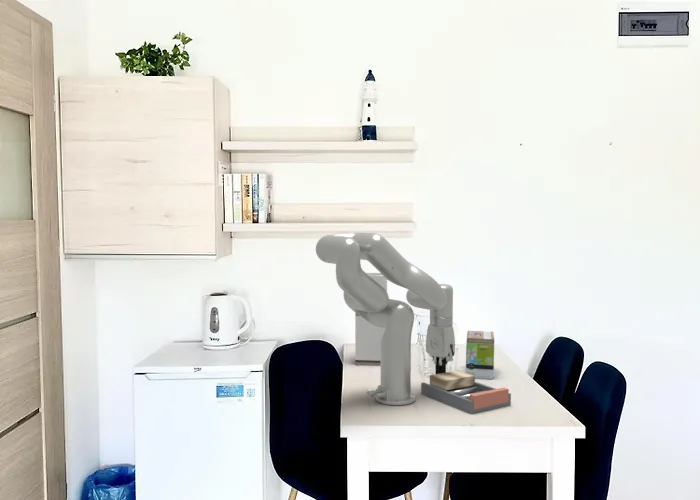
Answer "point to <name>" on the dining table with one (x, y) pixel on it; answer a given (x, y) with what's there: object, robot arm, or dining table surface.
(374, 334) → the tall white box
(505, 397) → the end stop
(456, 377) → the oak slab
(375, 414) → the dining table surface
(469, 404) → the roller track
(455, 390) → the rollers
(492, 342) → the tea box
